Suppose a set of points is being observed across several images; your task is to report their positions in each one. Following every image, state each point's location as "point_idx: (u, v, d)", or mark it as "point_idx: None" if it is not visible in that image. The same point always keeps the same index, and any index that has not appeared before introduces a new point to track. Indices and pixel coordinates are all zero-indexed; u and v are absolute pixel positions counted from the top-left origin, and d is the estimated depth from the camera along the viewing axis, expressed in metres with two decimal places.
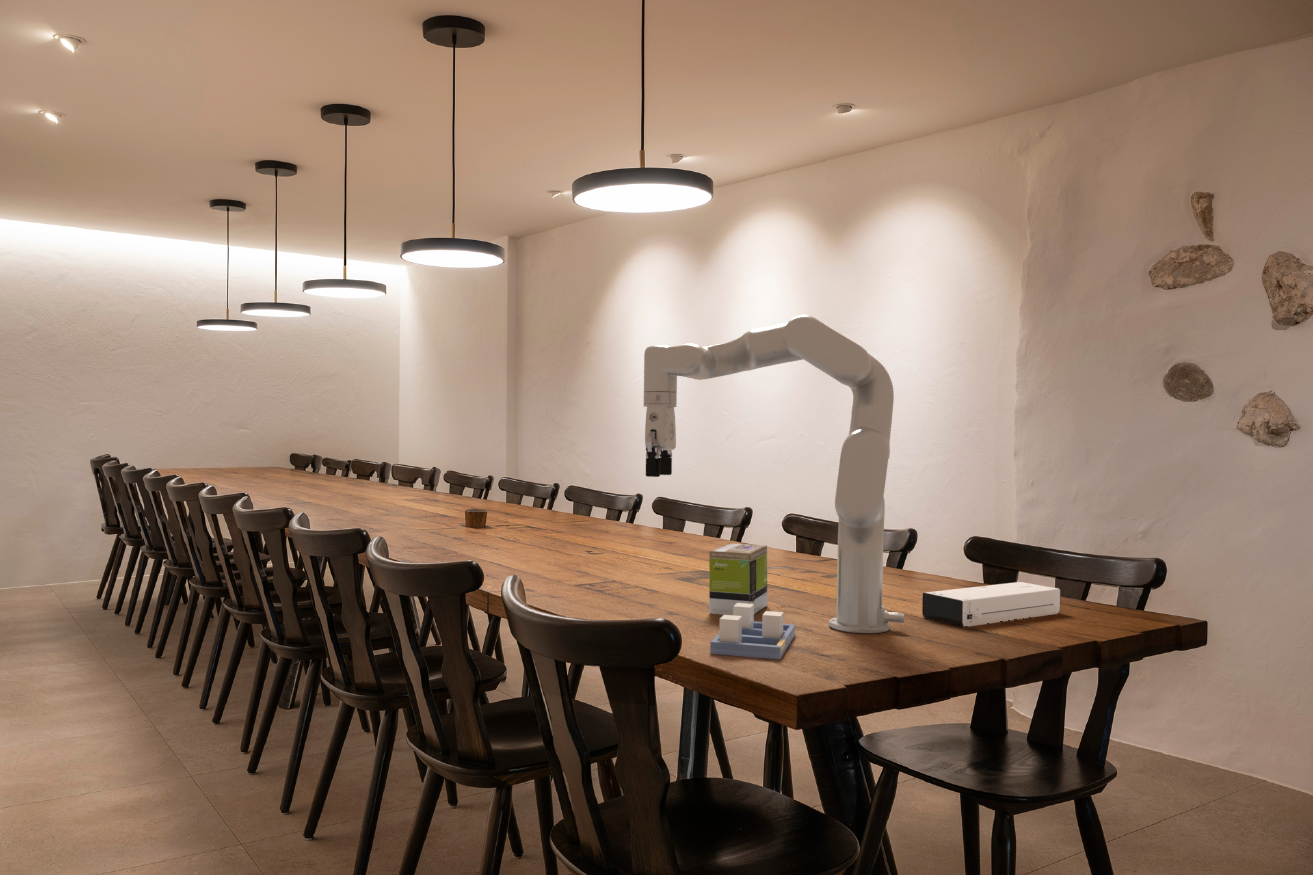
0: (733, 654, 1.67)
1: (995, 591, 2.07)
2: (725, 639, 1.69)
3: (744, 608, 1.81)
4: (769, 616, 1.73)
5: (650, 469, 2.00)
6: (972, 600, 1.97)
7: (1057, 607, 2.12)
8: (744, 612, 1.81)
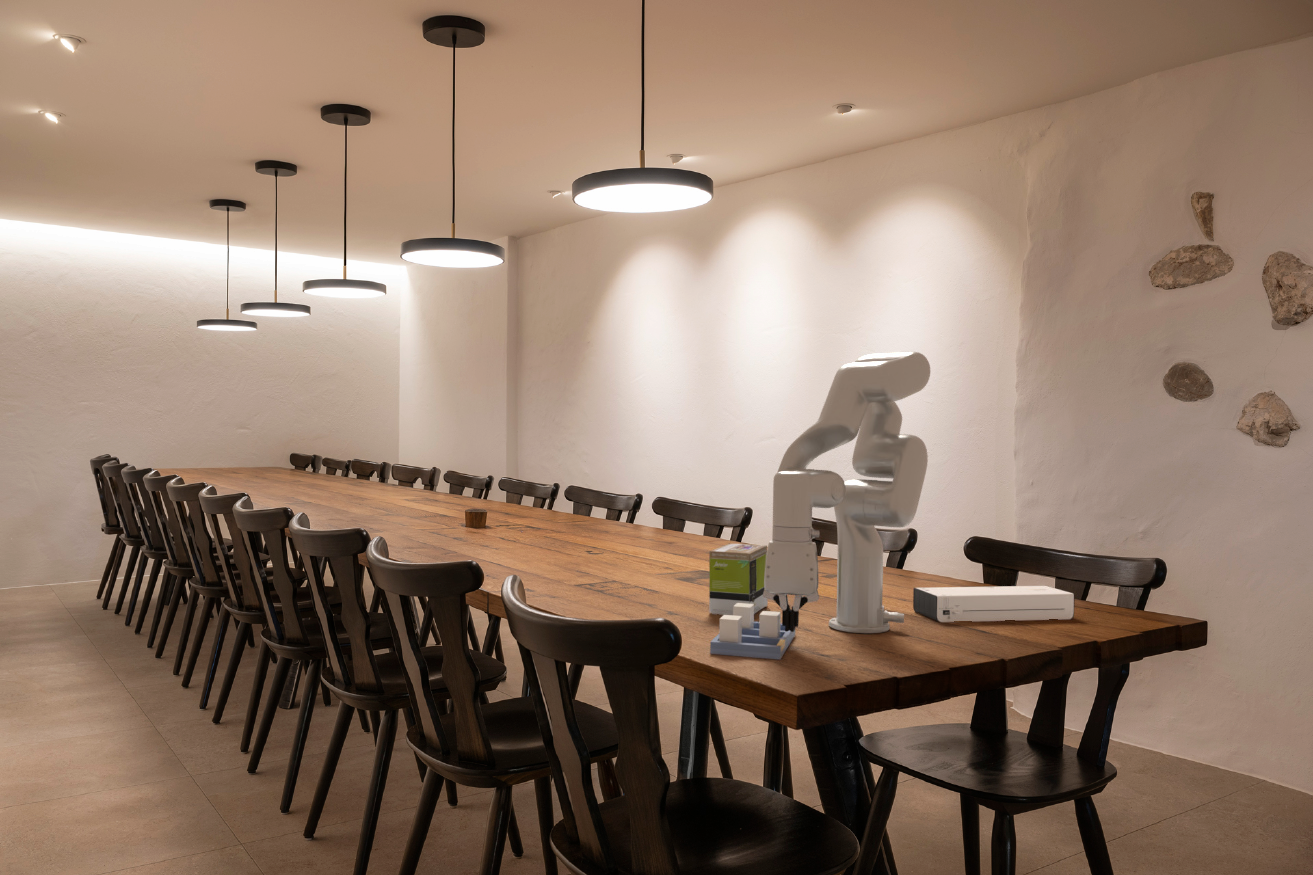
0: (733, 654, 1.67)
1: (993, 591, 2.07)
2: (725, 639, 1.69)
3: (744, 608, 1.81)
4: (766, 616, 1.74)
5: (797, 622, 1.74)
6: (950, 596, 2.00)
7: (1070, 612, 2.06)
8: (744, 612, 1.81)
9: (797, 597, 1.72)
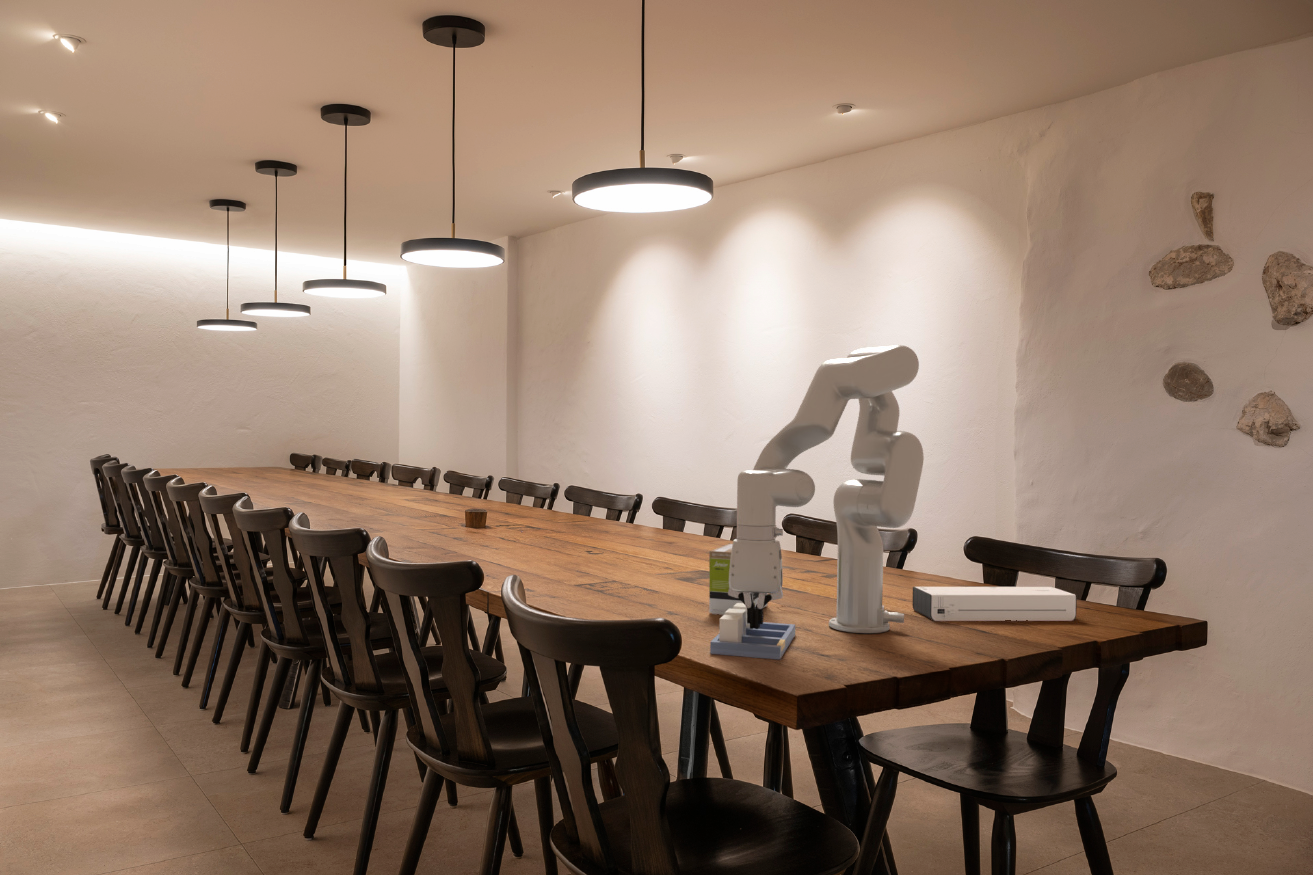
0: (733, 654, 1.67)
1: (993, 591, 2.07)
2: (725, 639, 1.69)
3: (744, 608, 1.81)
4: (731, 613, 1.75)
5: (762, 620, 1.75)
6: (945, 595, 2.02)
7: (1072, 614, 2.04)
8: None
9: (761, 595, 1.74)
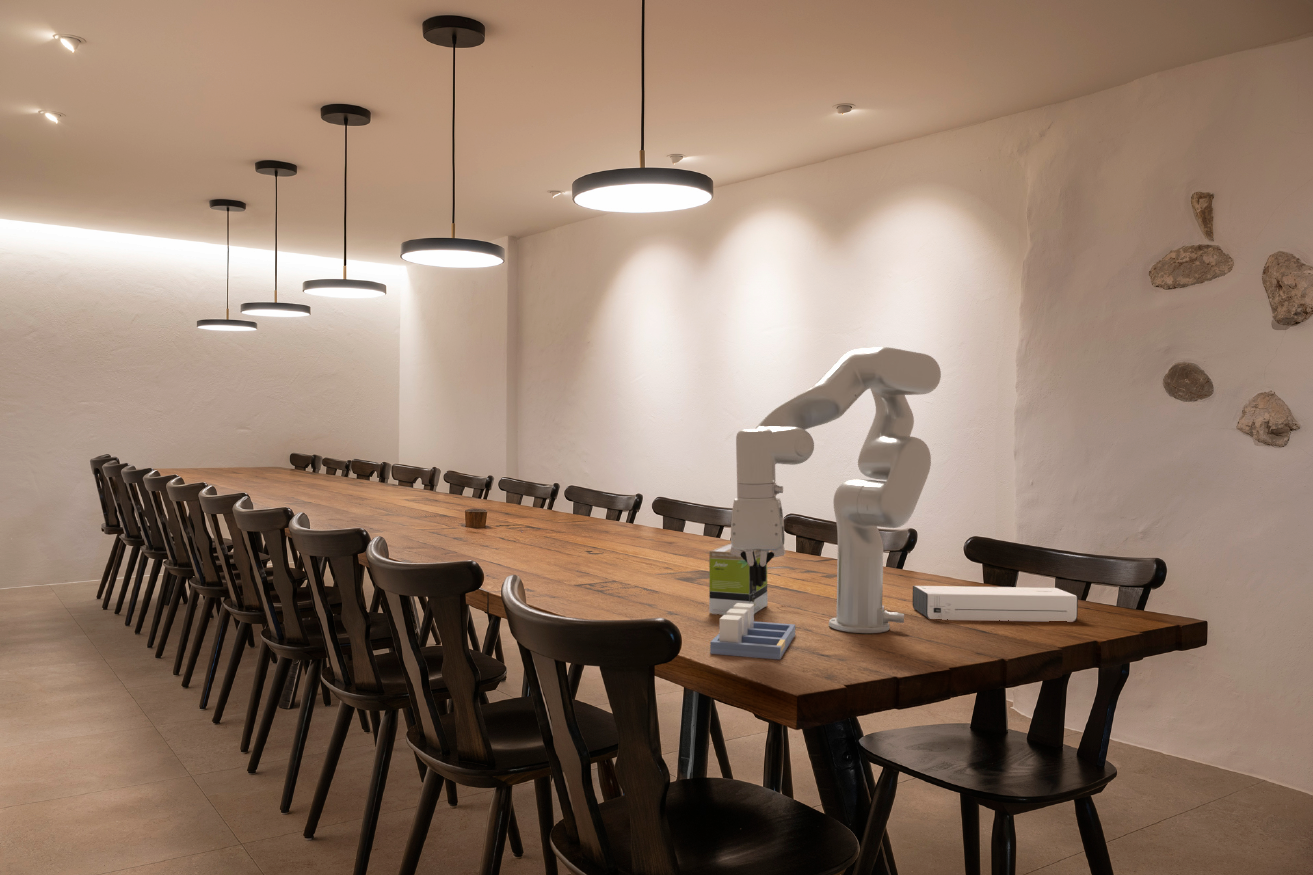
0: (733, 654, 1.67)
1: (992, 591, 2.07)
2: (725, 639, 1.69)
3: (744, 608, 1.81)
4: (733, 613, 1.75)
5: (765, 577, 1.76)
6: (941, 595, 2.03)
7: (1072, 615, 2.03)
8: None
9: (763, 553, 1.75)
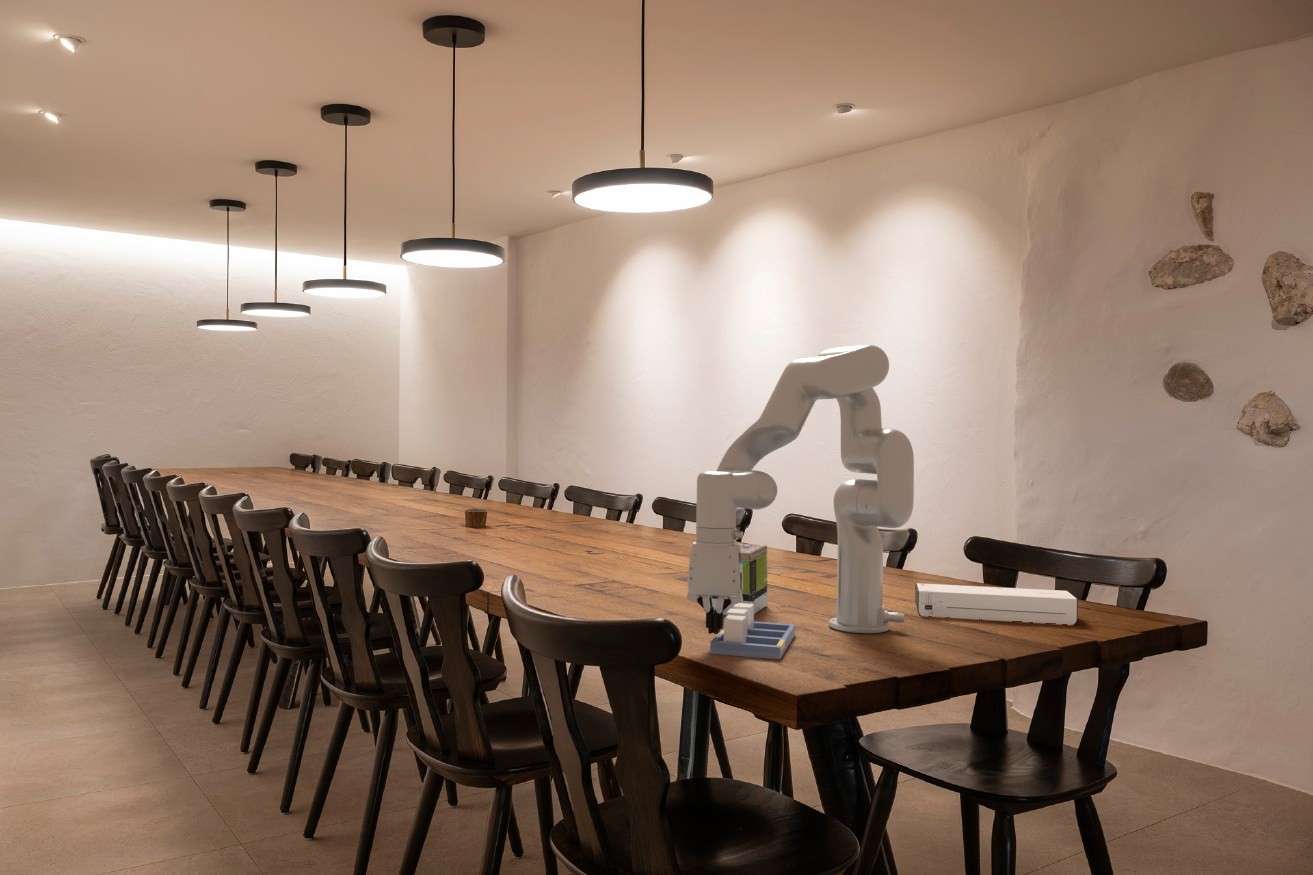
0: (733, 654, 1.67)
1: (991, 591, 2.07)
2: (729, 639, 1.69)
3: (744, 608, 1.81)
4: (733, 613, 1.75)
5: (721, 624, 1.71)
6: (933, 592, 2.06)
7: (1072, 618, 1.99)
8: None
9: (720, 599, 1.70)
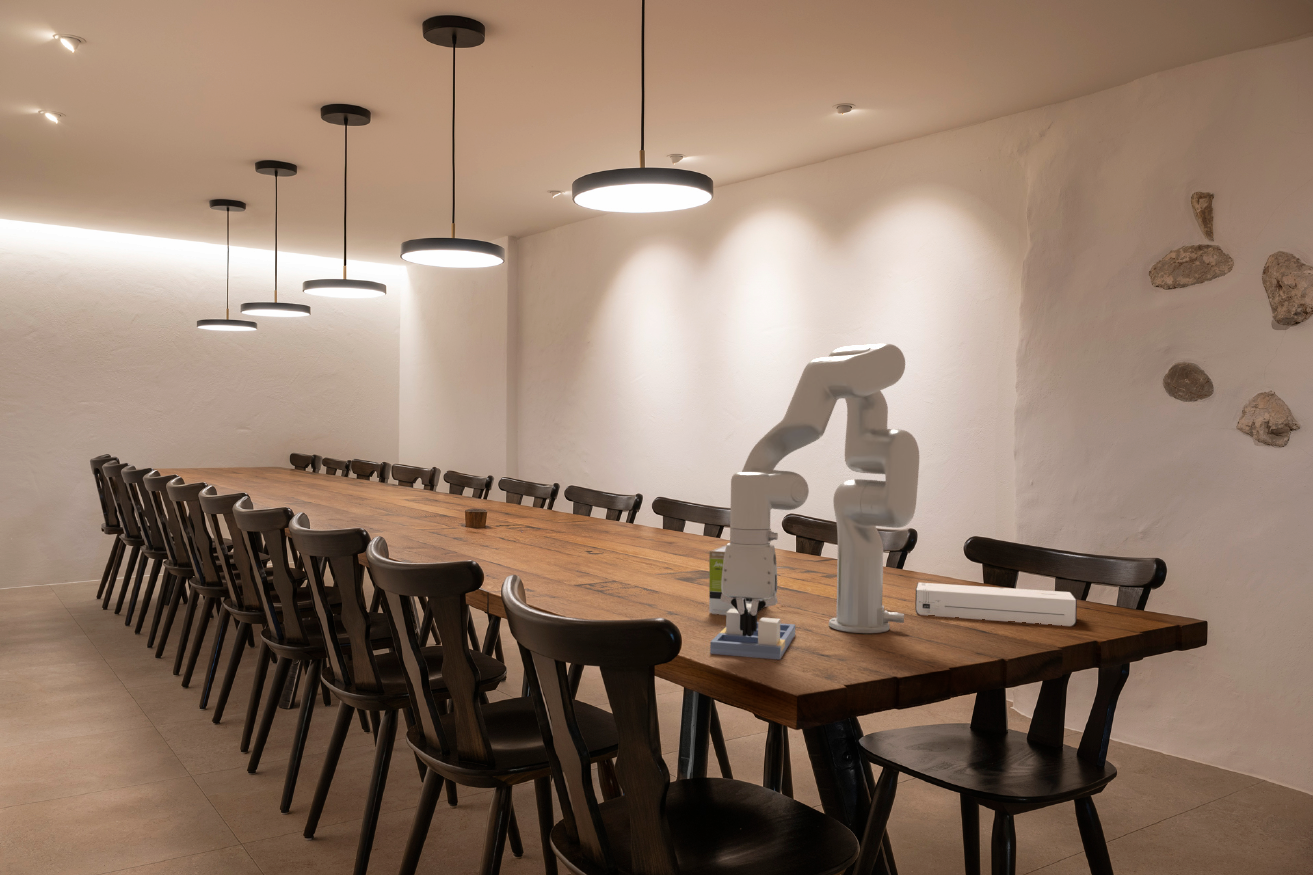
0: (733, 654, 1.67)
1: (990, 591, 2.07)
2: (764, 642, 1.67)
3: None
4: (733, 613, 1.75)
5: (755, 627, 1.69)
6: (931, 591, 2.07)
7: (1071, 619, 1.98)
8: None
9: (754, 601, 1.68)
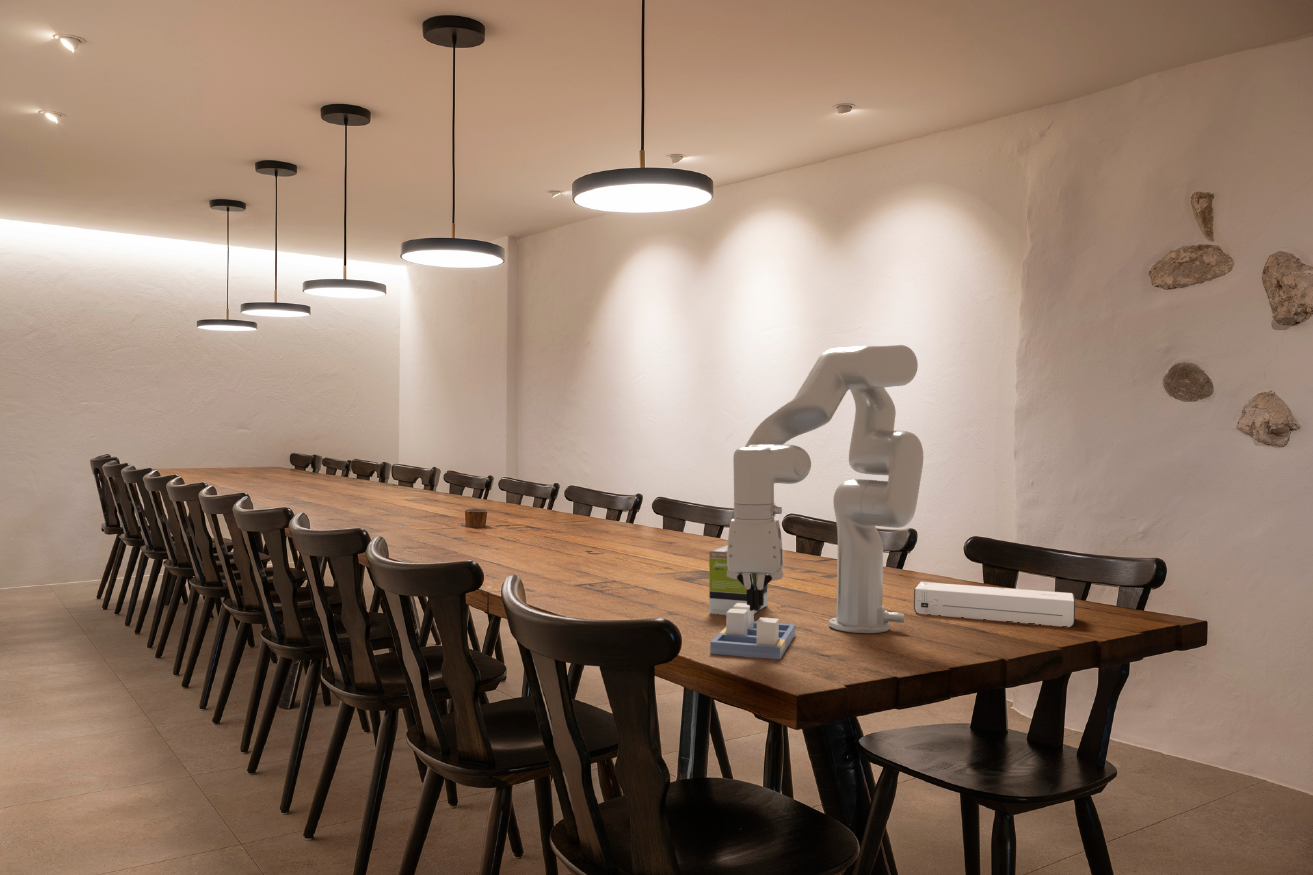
0: (733, 654, 1.67)
1: (990, 591, 2.07)
2: (762, 642, 1.67)
3: (744, 608, 1.81)
4: (733, 613, 1.75)
5: (762, 601, 1.70)
6: (929, 590, 2.08)
7: (1069, 620, 1.97)
8: None
9: (760, 576, 1.69)
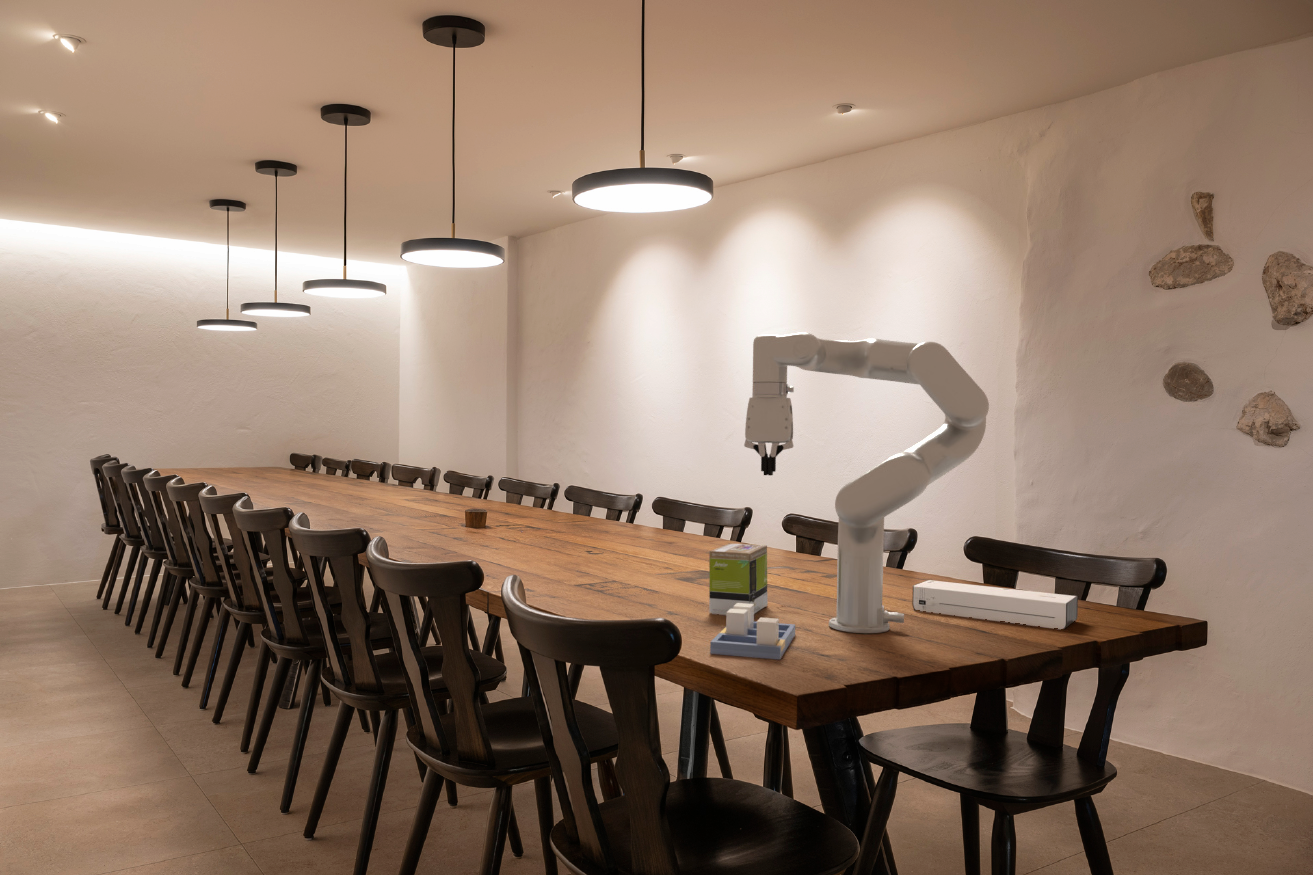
0: (733, 654, 1.67)
1: (989, 591, 2.08)
2: (762, 642, 1.67)
3: (744, 608, 1.81)
4: (733, 613, 1.75)
5: (774, 467, 1.97)
6: (926, 588, 2.12)
7: (1061, 622, 1.94)
8: None
9: (774, 445, 1.96)
